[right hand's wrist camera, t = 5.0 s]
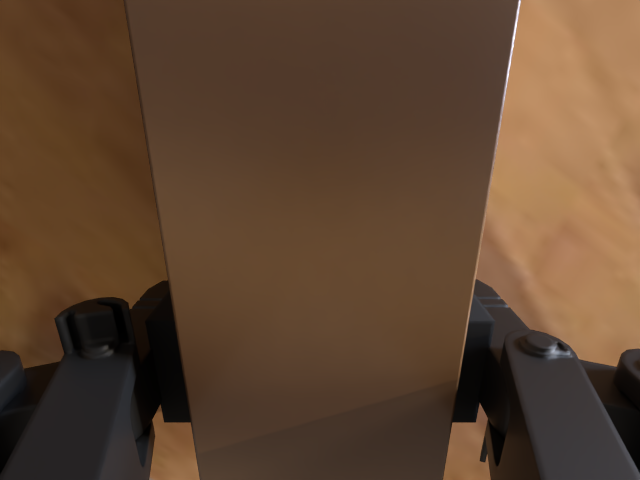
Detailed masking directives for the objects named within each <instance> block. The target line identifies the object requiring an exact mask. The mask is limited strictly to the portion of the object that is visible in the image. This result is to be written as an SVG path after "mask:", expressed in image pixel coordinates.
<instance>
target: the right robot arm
mask: <svg viewBox="0 0 640 480" xmlns="http://www.w3.org/2000/svg"><path fill="white" fill-rule="evenodd" d="M55 323H56V326H57V329H58V333H59V336H60V340H61V343H62V347H63V350H64V356H63V358H62V360H61V361H60V362H56V363H51V364H45V365H40V366H35V367H30V368H25V369H24V368H23V365H22V362H21V360H20V357H19V355H17V354H16V353H15V352H12V351H3V350H2V351H0V480H149V477H150V470H151V462H152V455H153V447H154V440H155V432H154V426H153V421H152V419H153V417H154V415H155V413H156V411H157V409H158V408H159V406H160V404H161V408H162V413H163V418H164V422H191V420H190V414H189V408H188V401H187V395H186V389H185V382H184V376H183V370H182V364H181V357H180V351H179V345H178V338H177V332H176V326H175V320H174V313H173V307H172V301H171V294H170V288H169V282H168V281H162V282H160V283H158V284H156V285H155V286H153V287H151V288H149V289H148V290H147V291H146V292H145V293H144V295H143V296H142V297H141V298H140V301H137V302H136V303H135V305H134V306H133V308H132V309H130V310H129V305H128V302H126V301H125V300H123V299H120V298H115V297H105V298H96V299H92V300H87V301H84V302H81V303H78V304H75V305H73V306H71V307H69V308H67V309H66V310H64V311H62V312H61V313H60V314H59V315H58V316H57V317H56V318H55ZM479 403H480V404H481V406H482V408H483V409H484V411H485V413H486V415H487V417H488V421H487V426H486V431H485V436H484V441H483V445H482V450H481V456H480V461H481V462H485V461H486V456H487V454H488V461H489V469H490V476H491V480H640V349H630V350H626V351H625V352H623V353H622V354H621V357H620V359H619V362H618V365H617V367H614V366H609V365H604V364H599V363H593V362H588V361H583V360H579V359H578V357H577V355H576V353H575V352H574V351H573V350H572V349H571V347H570V346H569V345H567V344H566V343H564V342H563V341H561V340H560V339H558V338H556V337H553V336H551V335H549V334H546V333H543V332H539V331H535V330H530V329H529V328H528V327H527V326H526V325H525V324H524V323H523V322H522V321H521V319H520V318H519V317H518V316H517V315H516V314H515V313H514V312H513V311H512V309H511V308H510V307H508V305H507V304H506V303H505V302H504V301H503V300H502V299H500V296H499V295H498V294H497V293H496V292H495V291H494V290H493V289H492V288H491V287H490V286H488V285H486V284H484V283H483V282H481V281H479V280H475V285H474V291H473V297H472V304H471V310H470V316H469V322H468V328H467V334H466V340H465V347H464V353H463V359H462V365H461V371H460V377H459V383H458V390H457V396H456V402H455V408H454V414H453V420H452V422H476V418H477V413H478V408H479Z"/></svg>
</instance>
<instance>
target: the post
mask: <svg viewBox="0 0 640 480" xmlns="http://www.w3.org/2000/svg"><path fill="white" fill-rule="evenodd" d="M520 3H521V0H124V5H125V12H126V18H127V24H128V30H129V37H130V43H131V49H132V56H133V62H134V68H135V74H136V81H137V87H138V93H139V100H140V106H141V112H142V118H143V125H144V131H145V137H146V144H147V150H148V156H149V162H150V169H151V175H152V181H153V188H154V194H155V200H156V206H157V213H158V219H159V225H160V232H161V238H162V244H163V250H164V257H165V263H166V269H167V276H168V282H169V288H170V294H171V301H172V307H173V313H174V320H175V326H176V332H177V338H178V345H179V351H180V357H181V364H182V370H183V376H184V382H185V389H186V395H187V401H188V408H189V414H190V420H191V426H192V433H193V439H194V445H195V452H196V458H197V464H198V470H199V477H200V480H443V476H444V469H445V463H446V457H447V451H448V445H449V439H450V433H451V426H452V420H453V414H454V408H455V402H456V396H457V390H458V383H459V377H460V371H461V365H462V359H463V353H464V347H465V340H466V334H467V328H468V322H469V316H470V310H471V304H472V297H473V291H474V285H475V279H476V273H477V267H478V261H479V254H480V248H481V242H482V236H483V230H484V224H485V218H486V212H487V205H488V199H489V193H490V187H491V181H492V175H493V169H494V162H495V156H496V150H497V144H498V138H499V132H500V126H501V119H502V113H503V107H504V101H505V95H506V89H507V83H508V76H509V70H510V64H511V58H512V52H513V46H514V40H515V33H516V27H517V21H518V15H519V9H520Z"/></svg>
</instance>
